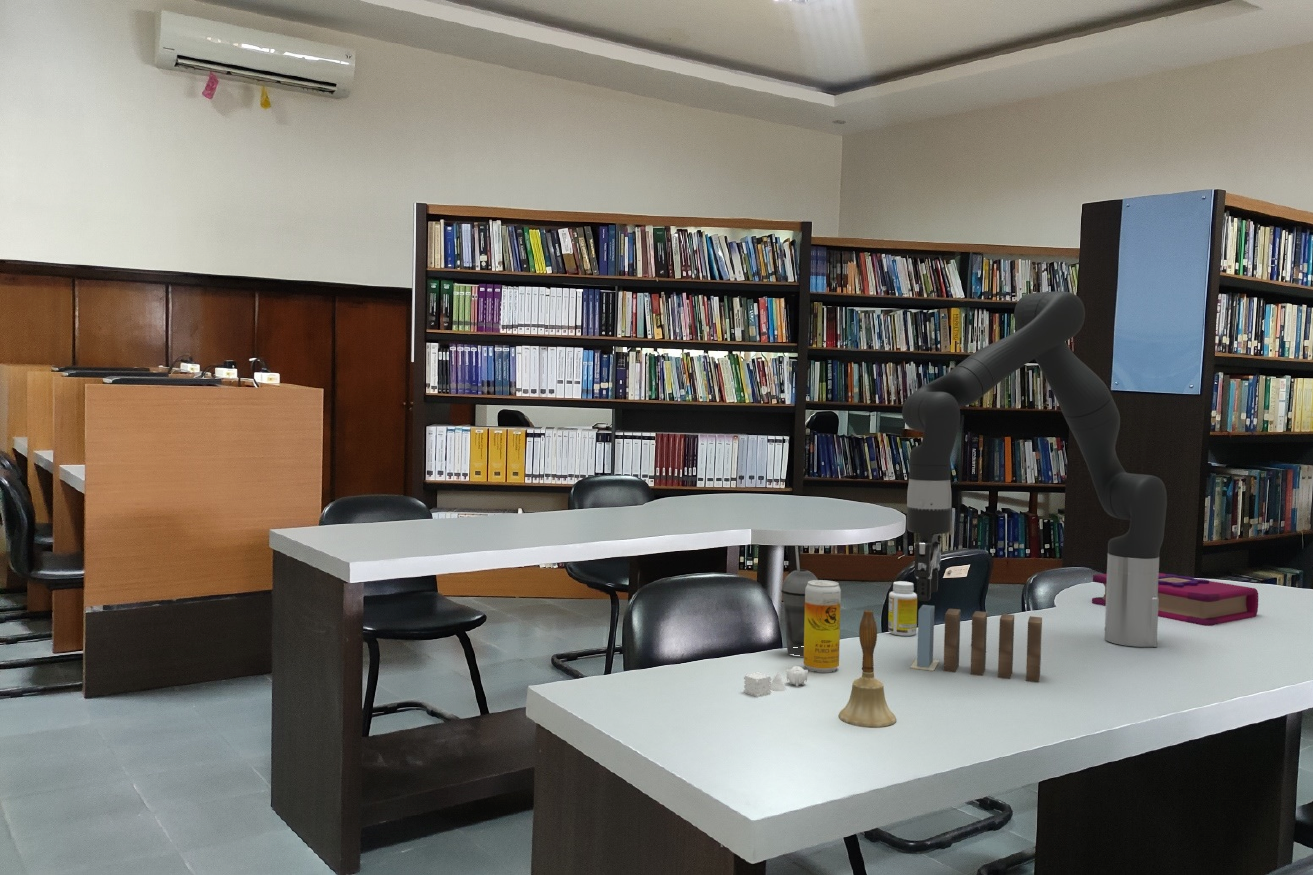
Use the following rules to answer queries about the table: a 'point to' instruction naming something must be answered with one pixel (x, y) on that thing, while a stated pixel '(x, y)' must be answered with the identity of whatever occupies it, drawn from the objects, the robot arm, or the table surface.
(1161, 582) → the book
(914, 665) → the plate
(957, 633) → the domino
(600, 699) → the table surface
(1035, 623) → the domino
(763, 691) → the game pieces
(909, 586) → the supplement bottle
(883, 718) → the hand bell
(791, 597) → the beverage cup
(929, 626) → the domino
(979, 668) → the domino
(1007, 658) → the domino
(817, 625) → the beer can
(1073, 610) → the table surface
